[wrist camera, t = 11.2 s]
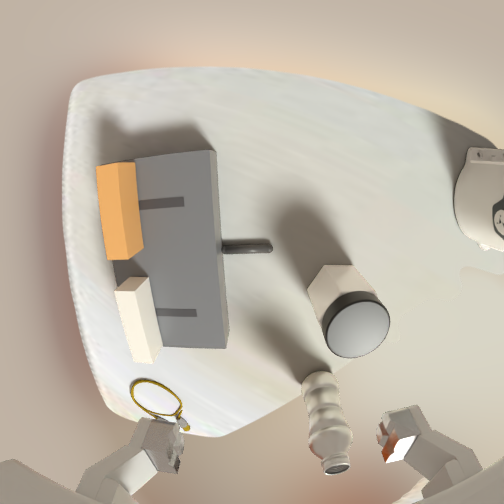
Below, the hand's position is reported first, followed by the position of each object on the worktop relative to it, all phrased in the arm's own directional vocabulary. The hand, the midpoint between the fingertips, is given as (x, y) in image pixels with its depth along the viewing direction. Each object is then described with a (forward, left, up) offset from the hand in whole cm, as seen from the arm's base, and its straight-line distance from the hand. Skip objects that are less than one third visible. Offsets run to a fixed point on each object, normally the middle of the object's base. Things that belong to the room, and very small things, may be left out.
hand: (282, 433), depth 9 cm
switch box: (+11, -2, -31) cm, 33 cm away
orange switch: (+15, -11, -26) cm, 32 cm away
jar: (-7, +11, -31) cm, 34 cm away
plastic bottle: (0, +28, -31) cm, 42 cm away
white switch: (+19, +3, -26) cm, 32 cm away
